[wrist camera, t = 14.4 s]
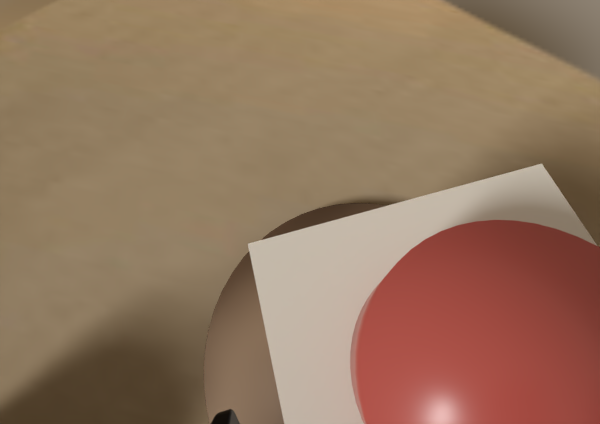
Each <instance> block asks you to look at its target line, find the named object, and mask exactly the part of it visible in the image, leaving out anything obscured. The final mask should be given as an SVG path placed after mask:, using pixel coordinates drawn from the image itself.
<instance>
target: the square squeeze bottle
mask: <svg viewBox="0 0 600 424" xmlns="http://www.w3.org/2000/svg"><path fill="white" fill-rule="evenodd" d="M248 247H249V252H250V257H251V262H252V267H253V272H254V277H255V282H256V287H257V291H258V296H259V301H260V306H261V311H262V316H263V321H264V326H265V331H266V336H267V341H268V346H269V351H270V356H271V361H272V366H273V371H274V376H275V380H276V385H277V390H278V395H279V400H280V405H281V410H282V415H283V420H284V424H600V247H598V246H597V244H596V243H595V241H594V240H593V238H592V237H591V235H590V234H589V233H588V231H587V230H586V228H585V227H584V225H583V224H582V222H581V221H580V219H579V218H578V216H577V215H576V213H575V212H574V210H573V209H572V207H571V206H570V205H569V203H568V202H567V200H566V199H565V197H564V196H563V194H562V193H561V191H560V190H559V188H558V187H557V185H556V184H555V182H554V181H553V179H552V178H551V177H550V175H549V174H548V172H547V171H546V169H545V168H544V166H543V165H542V164H538V165H535V166H531V167H527V168H524V169H520V170H516V171H513V172H509V173H505V174H502V175H498V176H494V177H491V178H487V179H483V180H480V181H476V182H472V183H469V184H465V185H461V186H458V187H454V188H450V189H447V190H443V191H439V192H436V193H432V194H428V195H425V196H421V197H417V198H414V199H410V200H406V201H403V202H399V203H395V204H392V205H388V206H384V207H381V208H377V209H373V210H370V211H366V212H362V213H359V214H355V215H352V216H348V217H344V218H341V219H337V220H333V221H330V222H326V223H322V224H319V225H315V226H311V227H308V228H304V229H300V230H297V231H293V232H289V233H286V234H282V235H278V236H275V237H271V238H267V239H264V240H260V241H256V242H253V243H249V244H248Z"/></svg>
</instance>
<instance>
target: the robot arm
mask: <svg viewBox="0 0 600 424" xmlns="http://www.w3.org/2000/svg"><path fill="white" fill-rule="evenodd" d="M211 424H240V423H239V421H238V418H237V416H236V414H235V412H234V411H233V410H232V409H228V410H225V411H222V412H219V413H217V414H216V415H215V416H214V418H213V420H212V422H211Z"/></svg>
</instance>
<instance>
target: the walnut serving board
mask: <svg viewBox="0 0 600 424" xmlns="http://www.w3.org/2000/svg"><path fill="white" fill-rule="evenodd" d="M384 206H385V205H378V204H367V203H350V204H339V205H333V206H328V207H323V208H319V209H316V210H313V211H310V212H307V213H304V214H301V215H299V216H297V217H295V218H293V219H291V220H289V221H287V222H285V223H284V224H282V225H281V226H279V227H277V228H276V229H274V230H273V231H271V232H270V233H269V234H268V235H266V236H265V237H264V238H263V239H262V240H264V239H267V238H271V237H275V236H278V235H282V234H286V233H289V232H293V231H297V230H300V229H304V228H308V227H311V226H315V225H319V224H322V223H326V222H330V221H333V220H337V219H341V218H344V217H348V216H352V215H355V214H359V213H362V212H366V211H370V210H373V209H377V208H381V207H384ZM204 389H205V401H206V407H207V412H208V418H209V423H210V424H211V422H212V420H213V418H214V416H215V415H216V414H217V413H219V412H222V411H225V410H228V409H232V410H233V411H234V412H235V414H236V416H237V418H238V421H239V423H240V424H284V420H283V415H282V410H281V405H280V400H279V395H278V390H277V385H276V380H275V376H274V371H273V366H272V361H271V356H270V351H269V346H268V341H267V336H266V331H265V326H264V321H263V316H262V311H261V306H260V301H259V296H258V291H257V287H256V282H255V277H254V272H253V267H252V262H251V257H250V252H248V253H247V254H246V255H245V257H244V258H243V259H242V260H241V262H240V263H239V264H238V266H237V267H236V269H235V270H234V271H233V273H232V274H231V276H230V278H229V280H228V281H227V283H226V285H225V287H224V288H223V290H222V293H221V295H220V297H219V300H218V302H217V304H216V307H215V309H214V313H213V316H212V320H211V323H210V326H209V330H208V336H207V342H206V348H205V357H204Z"/></svg>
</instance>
